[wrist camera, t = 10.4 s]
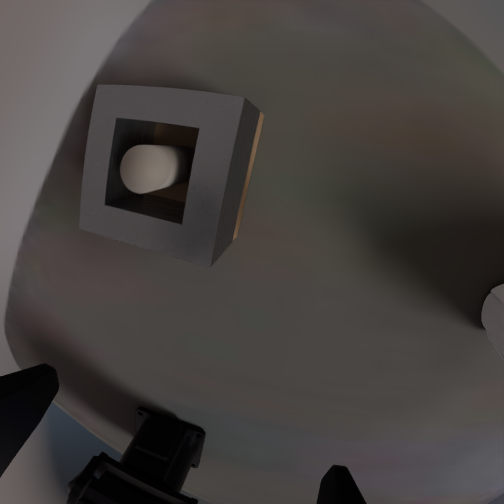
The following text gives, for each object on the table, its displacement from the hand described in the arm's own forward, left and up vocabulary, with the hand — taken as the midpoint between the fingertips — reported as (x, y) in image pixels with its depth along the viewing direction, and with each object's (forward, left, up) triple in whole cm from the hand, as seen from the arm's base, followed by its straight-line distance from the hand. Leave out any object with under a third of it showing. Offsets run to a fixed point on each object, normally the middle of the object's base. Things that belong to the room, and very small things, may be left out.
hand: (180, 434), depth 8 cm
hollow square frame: (+6, +5, -10) cm, 13 cm away
